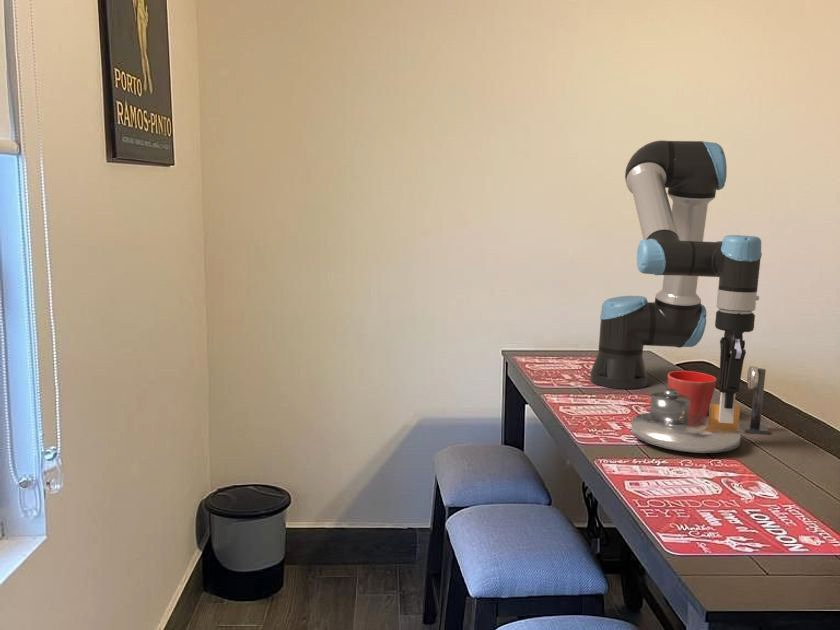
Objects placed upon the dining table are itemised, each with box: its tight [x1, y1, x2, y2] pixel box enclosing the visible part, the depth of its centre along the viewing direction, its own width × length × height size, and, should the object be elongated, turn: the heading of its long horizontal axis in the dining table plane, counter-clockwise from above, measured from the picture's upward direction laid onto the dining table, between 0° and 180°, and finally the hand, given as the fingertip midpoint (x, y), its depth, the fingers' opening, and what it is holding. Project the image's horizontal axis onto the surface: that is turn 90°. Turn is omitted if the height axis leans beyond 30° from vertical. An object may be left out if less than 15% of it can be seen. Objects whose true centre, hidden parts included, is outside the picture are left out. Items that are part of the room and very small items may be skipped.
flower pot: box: [667, 370, 717, 416], centre depth 195 cm, size 11×11×10 cm
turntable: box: [630, 403, 742, 454], centre depth 176 cm, size 22×22×7 cm
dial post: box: [740, 365, 770, 436], centre depth 185 cm, size 5×5×14 cm
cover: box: [649, 388, 690, 425], centre depth 181 cm, size 8×8×6 cm
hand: (725, 422), depth 175 cm, fingers closed
